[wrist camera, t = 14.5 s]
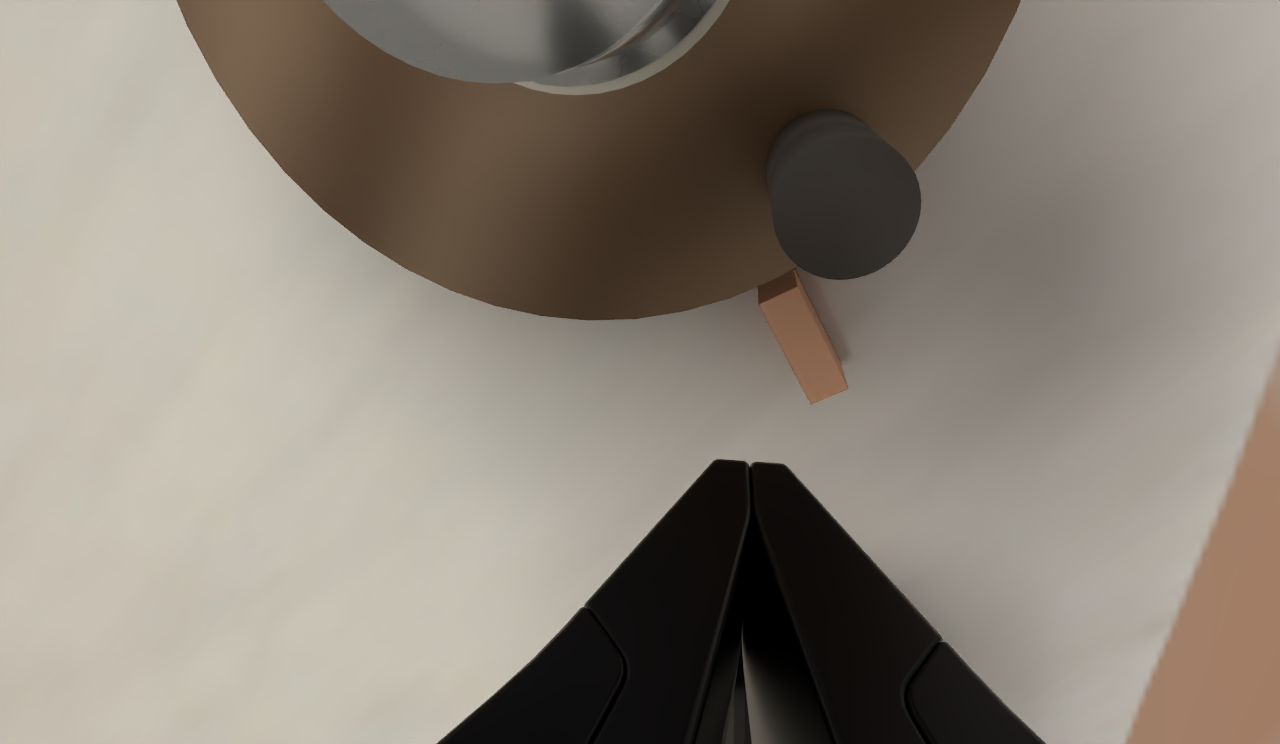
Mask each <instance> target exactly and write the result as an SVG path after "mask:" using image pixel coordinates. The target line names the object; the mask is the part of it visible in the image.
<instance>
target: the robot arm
mask: <svg viewBox="0 0 1280 744" xmlns="http://www.w3.org/2000/svg"><path fill="white" fill-rule="evenodd" d="M437 744H1046V743H1045V742H1044V741H1043V740H1042V739H1041V738H1040V737H1038V736H1037V735H1036V734H1035V733H1034V732H1033V731H1032V730H1031V729H1030V728H1029V727H1028V726H1027V725H1026V724H1025V723H1024V722H1023V721H1022V720H1021V719H1020V718H1019V717H1017V716H1016V715H1015V714H1014V713H1013V712H1012V711H1011V710H1010V709H1009V708H1008V707H1007V706H1006V705H1005V704H1004V703H1003V702H1002V701H1001V700H1000V698H999V697H998V696H997V695H996V694H995V693H994V692H993V691H992V690H991V689H990V688H989V687H988V686H987V685H986V684H985V683H984V682H983V681H982V680H981V679H980V678H979V677H978V675H977V674H976V673H975V672H974V671H973V670H972V669H971V668H970V667H969V666H968V665H967V664H966V663H965V662H964V660H963V659H962V658H961V657H960V656H959V655H958V654H957V653H956V652H955V651H954V649H953V648H952V647H951V646H950V645H949V644H948V643H947V642H942V637H941V636H940V634H939V633H938V632H937V631H936V630H935V629H934V628H933V627H932V626H931V625H930V623H929V622H928V621H927V620H926V619H925V618H924V617H923V616H922V615H921V614H920V612H919V611H918V610H917V609H916V608H915V607H914V606H913V605H912V604H911V602H910V601H909V600H908V599H907V598H906V597H905V596H904V595H903V594H902V593H901V591H900V590H899V589H898V588H897V587H896V586H895V585H894V584H893V583H892V582H891V580H890V579H889V578H888V577H887V576H886V575H885V574H884V573H883V572H882V570H881V569H880V568H879V567H878V566H877V565H876V564H875V563H874V562H873V561H872V559H871V558H870V557H869V556H868V555H867V554H866V553H865V552H864V551H863V550H862V548H861V547H860V546H859V545H858V544H857V543H856V542H855V541H854V540H853V538H852V537H851V536H850V535H849V534H848V533H847V532H846V531H845V530H844V529H843V527H842V526H841V525H840V524H839V523H838V522H837V521H836V520H835V519H834V518H833V516H832V515H831V514H830V513H829V512H828V511H827V510H826V509H825V508H824V507H823V505H822V504H821V503H820V502H819V501H818V500H817V499H816V498H815V497H814V495H813V494H812V493H811V492H810V491H809V490H808V489H807V488H806V487H805V486H804V484H803V483H802V482H801V481H800V480H799V479H798V478H797V477H796V476H795V475H794V473H793V472H792V471H791V470H790V469H789V468H788V467H787V466H786V465H784V464H779V463H765V462H754V463H752V464H751V466H750V468H749V465H748V463H747V462H745V461H737V460H723V459H717V460H715V461H713V462H712V463H711V464H710V466H709V467H708V468H707V469H706V470H705V471H704V472H703V473H702V474H701V476H700V477H699V478H698V479H697V480H696V481H695V482H694V483H693V484H692V486H691V487H690V488H689V489H688V490H687V491H686V492H685V493H684V494H683V496H682V497H681V498H680V499H679V500H678V501H677V502H676V503H675V504H674V506H673V507H672V508H671V509H670V510H669V511H668V512H667V513H666V514H665V516H664V517H663V518H662V519H661V520H660V521H659V522H658V523H657V524H656V526H655V527H654V528H653V529H652V530H651V531H650V532H649V533H648V534H647V536H646V537H645V538H644V539H643V540H642V541H641V542H640V543H639V544H638V546H637V547H636V548H635V549H634V550H633V551H632V552H631V553H630V554H629V556H628V557H627V558H626V559H625V560H624V561H623V562H622V563H621V564H620V566H619V567H618V568H617V569H616V570H615V571H614V572H613V573H612V574H611V576H610V577H609V578H608V579H607V580H606V581H605V582H604V583H603V584H602V586H601V587H600V588H599V589H598V590H597V591H596V592H595V593H594V594H593V596H592V597H591V598H590V599H589V600H588V601H587V602H586V603H585V606H584V607H582V608H580V609H579V611H578V612H577V613H576V614H575V615H574V616H573V617H572V618H571V620H570V621H569V622H568V623H567V624H566V625H565V626H564V627H563V628H562V630H561V631H560V632H559V633H558V634H557V635H556V636H555V637H554V638H553V639H552V640H551V641H550V642H549V643H548V644H547V645H546V646H545V647H544V648H543V649H542V650H541V651H540V652H539V653H538V654H537V655H536V656H535V657H534V659H532V660H531V661H530V662H529V663H528V664H527V665H526V666H525V667H524V668H523V669H521V670H520V671H519V672H518V673H517V674H516V675H515V676H514V677H513V678H512V679H510V680H509V681H508V682H507V683H506V684H505V685H504V686H503V687H502V688H500V689H499V690H498V691H497V692H496V693H495V694H494V695H493V696H492V697H490V698H489V699H488V700H487V701H486V702H485V703H483V704H482V705H481V706H480V707H479V708H478V709H476V710H475V711H474V712H473V713H472V714H471V715H469V716H468V717H467V718H466V719H465V720H464V721H462V722H461V723H460V724H459V725H458V726H457V727H455V728H454V729H453V730H452V731H451V732H450V733H448V734H447V735H446V736H445V737H444V738H443V739H441V740H440V741H439V742H438V743H437Z"/></svg>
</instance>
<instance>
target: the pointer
mask: <svg viewBox="0 0 1280 744" xmlns="http://www.w3.org/2000/svg"><path fill="white" fill-rule="evenodd" d="M758 301H759V306H760V308H761V310H762V312H763V314H764V316H765V318H766V320H767V322H768V324H769V325H770V327H771V329H772V331H773V333H774V335H775V337H776V339H777V341H778V343H779V345H780V347H781V348H782V350H783V352H784V354H785V356H786V358H787V360H788V362H789V364H790V366H791V368H792V370H793V371H794V373H795V375H796V377H797V379H798V381H799V383H800V385H801V387H802V389H803V391H804V393H805V394H806V396H807V398H808V400H809V402H810V404H813V403H815V402H818V401H820V400H823V399H825V398H827V397H830V396H832V395H835V394H837V393H840V392H842V391H844V390H847V389H848V386H847V383H846V379H845V376H844V372H843V369H842V365H841V362H840V360H839V358H838V356H837V354H836V352H835V350H834V348H833V346H832V344H831V342H830V340H829V338H828V336H827V334H826V332H825V330H824V328H823V326H822V324H821V322H820V320H819V318H818V316H817V314H816V312H815V310H814V308H813V306H812V304H811V302H810V300H809V298H808V296H807V294H806V292H805V290H804V288H803V286H802V284H801V282H800V280H799V278H798V276H797V273H796V271H795V269H794V268H793V269H791V270H790V271H788V272H786V273H785V274H783V275H781V276H779V277H778V278H776V279H773V280H771V281H769V282H766V283H764V284H762V285H759V286H758Z"/></svg>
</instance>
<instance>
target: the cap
mask: <svg viewBox="0 0 1280 744" xmlns="http://www.w3.org/2000/svg"><path fill="white" fill-rule="evenodd" d="M323 1H324V2H325V3H326V4H327V5H328V6H329V7H330V8H331V9H332V11H333V12H334V13H335V14H336V15H338V16H339V17H340V18H341V19H342V20H343V21H344V22H346V23H347V24H348V25H349V26H350V27H351V28H353V29H354V30H355V31H356V32H357V33H358V34H359V35H361V36H362V37H364V38H365V39H367V40H368V41H370V42H371V43H373V44H374V45H376V46H377V47H379V48H380V49H381V50H383V51H384V52H386V53H388V54H390V55H392V56H394V57H396V58H398V59H400V60H402V61H404V62H405V63H407V64H409V65H411V66H414V67H417V68H419V69H422V70H425V71H428V72H430V73H433V74H436V75H439V76H443V77H448V78H452V79H457V80H462V81H466V82H478V83H492V84H499V83H512V82H525V81H527V82H532V83H537V84H541V85H549V86H563V87H571V86H585V85H593V84H597V83H602V82H606V81H611V80H614V79H617V78H620V77H622V76H625V75H628V74H630V73H633V72H635V71H637V70H639V69H641V68H643V67H645V66H647V65H649V64H650V63H652V62H654V61H656V60H658V59H660V58H661V57H662V56H664V55H665V54H666V53H668V52H669V51H670V50H672V49H673V48H675V47H676V46H677V45H679V44H680V43H681V42H682V41H683V40H684V39H685V38H686V37H687V36H688V35H689V34H690V33H691V32H692V31H693V30H694V29H695V28H696V27H697V26H698V25H699V23H700V22H701V21H702V20H703V19H704V17H705V16H706V15H707V14H708V12H709V11H710V10H711V9H712V7H713V6H714V4H715V2H716V1H717V0H323Z"/></svg>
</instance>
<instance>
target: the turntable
mask: <svg viewBox="0 0 1280 744" xmlns="http://www.w3.org/2000/svg"><path fill="white" fill-rule="evenodd" d="M177 2H178V5H179V7H180V9H181V12H182V14H183V17H184V19H185V21H186V24H187V26H188V28H189V30H190V32H191V34H192V35H193V37H194V39H195V41H196V43H197V45H198V47H199V48H200V50H201V52H202V54H203V56H204V58H205V60H206V61H207V63H208V65H209V67H210V69H211V71H212V73H213V75H214V76H215V78H216V80H217V82H218V83H219V85H220V86H221V88H222V89H223V91H224V92H225V94H226V95H227V97H228V98H229V99H230V101H231V102H232V104H233V105H234V107H235V108H236V110H237V111H238V113H239V114H240V116H241V117H242V119H243V120H244V122H245V123H246V125H247V126H248V128H249V129H250V130H251V132H252V133H253V134H254V135H255V136H256V138H257V139H258V140H259V141H260V143H261V144H262V145H263V146H264V147H265V149H266V150H267V151H268V152H269V153H270V155H271V156H272V157H273V158H274V159H275V161H276V162H277V163H278V164H279V166H280V167H281V168H282V169H283V170H284V172H285V173H286V174H287V175H288V176H289V177H290V178H291V179H292V180H293V181H295V182H296V183H297V184H298V185H299V186H300V187H301V188H302V189H303V190H304V191H305V192H306V193H307V194H308V195H309V196H310V197H311V198H312V199H313V200H314V201H315V202H316V203H317V204H318V205H319V206H320V207H321V208H322V209H323V210H324V211H325V212H327V213H328V214H329V215H330V216H332V217H333V218H334V219H335V220H337V221H338V222H339V223H340V224H342V225H343V226H344V227H345V228H347V229H348V230H349V231H351V232H352V233H353V234H354V235H356V236H357V237H358V238H359V239H361V240H362V241H363V242H364V243H366V244H368V245H369V246H371V247H372V248H374V249H376V250H377V251H379V252H380V253H382V254H383V255H385V256H387V257H388V258H390V259H391V260H393V261H395V262H396V263H398V264H399V265H401V266H402V267H404V268H406V269H408V270H410V271H412V272H414V273H416V274H418V275H420V276H422V277H424V278H426V279H428V280H430V281H432V282H434V283H437V284H439V285H441V286H443V287H445V288H447V289H449V290H451V291H454V292H457V293H460V294H463V295H466V296H469V297H471V298H474V299H477V300H480V301H483V302H486V303H489V304H492V305H494V306H499V307H503V308H508V309H512V310H517V311H521V312H526V313H531V314H535V315H540V316H548V317H559V318H569V319H580V320H614V319H638V318H644V317H651V316H657V315H663V314H670V313H676V312H683V311H686V310H690V309H693V308H697V307H700V306H704V305H707V304H711V303H714V302H718V301H721V300H725V299H728V298H731V297H734V296H736V295H738V294H741V293H743V292H745V291H748V290H750V289H752V288H755V287H757V286H759V285H762V284H764V283H766V282H769V281H771V280H773V279H776V278H778V277H779V276H781V275H783V274H785V273H786V272H788V271H790V270H791V269H793V268H795V267H797V266H799V267H800V268H802V269H803V270H805V271H807V272H809V273H811V274H813V275H816V276H819V277H823V278H827V279H836V280H844V279H853V278H858V277H862V276H866V275H868V274H871V273H873V272H875V271H877V270H879V269H881V268H883V267H884V266H886V265H887V264H888V263H890V262H891V261H892V260H893V259H894V258H896V257H897V256H898V255H899V254H900V253H901V251H902V250H903V249H904V248H905V247H906V245H907V244H908V242H909V241H910V239H911V237H912V235H913V233H914V231H915V229H916V226H917V223H918V220H919V215H920V209H921V194H920V188H919V183H918V181H917V178H916V175H915V173H914V171H915V170H916V169H917V167H918V166H919V165H920V164H921V163H922V161H923V160H924V159H925V158H926V157H927V155H928V154H929V153H930V152H931V150H932V149H933V148H934V147H935V146H936V144H937V143H938V142H939V141H940V140H941V138H942V137H943V136H944V135H945V133H946V132H947V131H948V130H949V129H950V127H951V125H952V124H953V122H954V121H955V119H956V118H957V116H958V115H959V113H960V112H961V110H962V109H963V107H964V105H965V104H966V102H967V101H968V99H969V98H970V96H971V95H972V93H973V92H974V90H975V88H976V87H977V85H978V84H979V82H980V81H981V79H982V78H983V76H984V75H985V73H986V71H987V69H988V67H989V65H990V63H991V61H992V59H993V57H994V55H995V53H996V51H997V49H998V47H999V45H1000V43H1001V41H1002V39H1003V37H1004V35H1005V33H1006V31H1007V29H1008V27H1009V25H1010V23H1011V21H1012V19H1013V17H1014V15H1015V13H1016V11H1017V8H1018V6H1019V3H1020V0H717V1H716V2H715V4H714V6H713V7H712V9H711V10H710V11H709V12H708V14H707V15H706V16H705V17H704V19H703V20H702V21H701V22H700V23H699V25H698V26H697V27H696V28H695V29H694V30H693V31H692V32H691V33H690V34H689V35H688V36H687V37H686V38H685V39H684V40H683V41H682V42H681V43H680V44H679V45H677V46H676V47H675V48H673V49H672V50H670V51H669V52H668V53H666V54H665V55H664V56H662V57H661V58H660V59H658V60H656V61H654V62H652V63H650V64H649V65H647V66H645V67H643V68H641V69H639V70H637V71H635V72H633V73H630V74H628V75H625V76H622V77H620V78H617V79H614V80H611V81H606V82H602V83H597V84H593V85H585V86H571V87H563V86H549V85H541V84H537V83H532V82H527V81H525V82H512V83H499V84H492V83H478V82H466V81H462V80H457V79H452V78H448V77H443V76H439V75H436V74H433V73H430V72H428V71H425V70H422V69H419V68H417V67H414V66H411V65H409V64H407V63H405V62H404V61H402V60H400V59H398V58H396V57H394V56H392V55H390V54H388V53H386V52H384V51H383V50H381V49H380V48H379V47H377V46H376V45H374V44H373V43H371V42H370V41H368V40H367V39H365V38H364V37H362V36H361V35H359V34H358V33H357V32H356V31H355V30H354V29H353V28H351V27H350V26H349V25H348V24H347V23H346V22H344V21H343V20H342V19H341V18H340V17H339V16H338V15H336V14H335V13H334V12H333V11H332V9H331V8H330V7H329V6H328V5H327V4H326V3H325V2H324V1H323V0H177Z"/></svg>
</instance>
